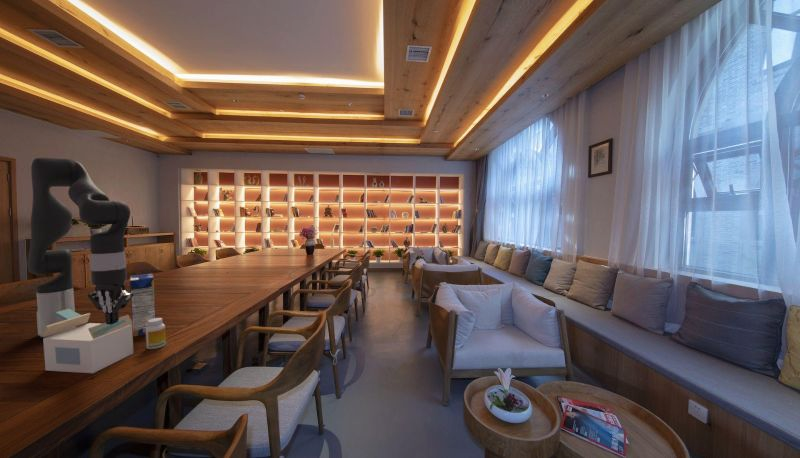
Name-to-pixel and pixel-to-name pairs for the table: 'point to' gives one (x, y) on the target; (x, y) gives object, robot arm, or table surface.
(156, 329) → the supplement bottle
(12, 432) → the table surface
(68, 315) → the flap
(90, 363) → the carton
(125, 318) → the flap
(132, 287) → the beverage box
